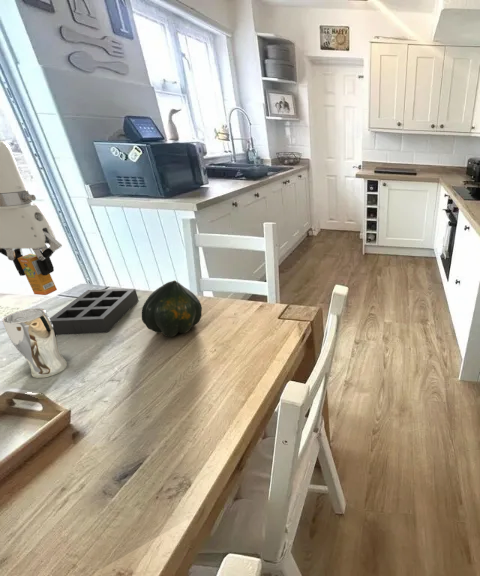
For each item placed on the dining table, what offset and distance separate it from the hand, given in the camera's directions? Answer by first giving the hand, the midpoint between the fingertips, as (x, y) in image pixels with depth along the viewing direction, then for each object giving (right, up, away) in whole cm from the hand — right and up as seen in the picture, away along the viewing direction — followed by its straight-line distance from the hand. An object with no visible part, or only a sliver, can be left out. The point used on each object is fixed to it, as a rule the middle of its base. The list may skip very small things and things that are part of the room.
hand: (37, 272), depth 81 cm
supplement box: (0, -5, +2) cm, 6 cm away
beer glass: (+7, -23, -4) cm, 25 cm away
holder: (0, -12, +18) cm, 22 cm away
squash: (+25, -16, +15) cm, 33 cm away
